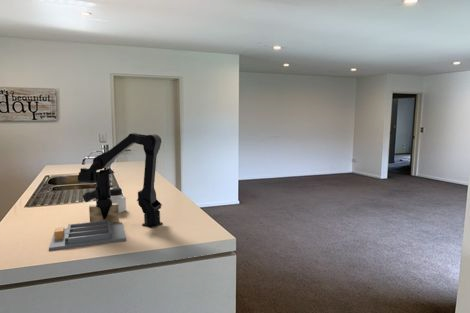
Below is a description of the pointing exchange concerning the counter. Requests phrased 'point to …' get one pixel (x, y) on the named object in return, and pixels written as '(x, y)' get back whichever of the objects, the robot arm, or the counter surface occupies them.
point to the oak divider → (97, 215)
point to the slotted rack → (87, 234)
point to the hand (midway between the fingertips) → (104, 217)
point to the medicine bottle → (118, 199)
